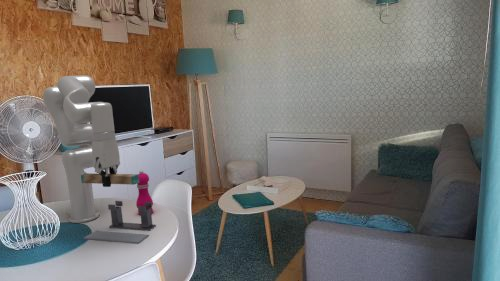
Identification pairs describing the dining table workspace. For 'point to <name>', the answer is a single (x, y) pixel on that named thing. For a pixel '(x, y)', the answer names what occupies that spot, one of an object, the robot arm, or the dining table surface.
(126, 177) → the rail
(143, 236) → the mat
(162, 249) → the dining table surface
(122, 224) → the bracket
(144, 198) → the pepper mill
